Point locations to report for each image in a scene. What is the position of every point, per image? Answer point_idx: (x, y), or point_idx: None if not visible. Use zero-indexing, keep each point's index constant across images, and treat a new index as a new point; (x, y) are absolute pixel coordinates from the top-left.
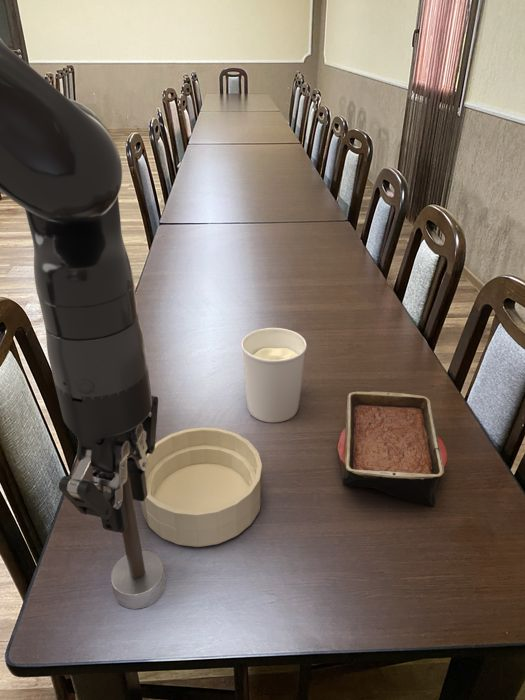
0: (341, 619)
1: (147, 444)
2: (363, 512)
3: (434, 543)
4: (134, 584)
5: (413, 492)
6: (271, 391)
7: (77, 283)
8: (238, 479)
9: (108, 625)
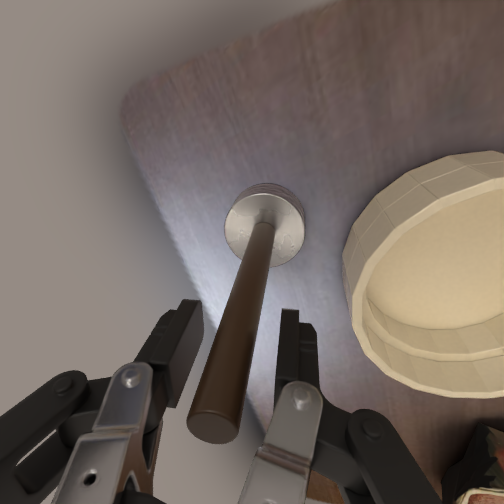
0: None
1: (348, 501)
2: (429, 432)
3: None
4: (242, 237)
5: (445, 500)
6: None
7: None
8: (500, 305)
9: (201, 203)
